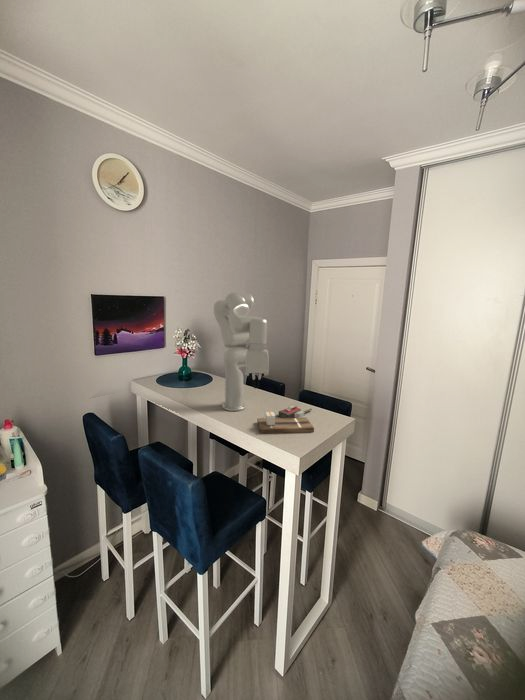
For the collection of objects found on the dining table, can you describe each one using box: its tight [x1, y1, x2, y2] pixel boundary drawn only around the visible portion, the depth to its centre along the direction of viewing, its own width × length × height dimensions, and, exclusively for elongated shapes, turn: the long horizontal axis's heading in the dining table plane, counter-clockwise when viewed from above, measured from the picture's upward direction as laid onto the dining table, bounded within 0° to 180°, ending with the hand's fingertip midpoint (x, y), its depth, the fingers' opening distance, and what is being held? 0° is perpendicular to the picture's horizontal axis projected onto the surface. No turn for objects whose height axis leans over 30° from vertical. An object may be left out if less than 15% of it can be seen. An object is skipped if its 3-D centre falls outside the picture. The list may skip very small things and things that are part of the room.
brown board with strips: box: [256, 416, 315, 435], centre depth 142 cm, size 12×24×2 cm, turn 98°
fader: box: [264, 411, 276, 425], centre depth 140 cm, size 5×4×4 cm
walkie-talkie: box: [278, 404, 313, 418], centre depth 158 cm, size 9×4×20 cm
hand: (256, 387), depth 137 cm, fingers closed
